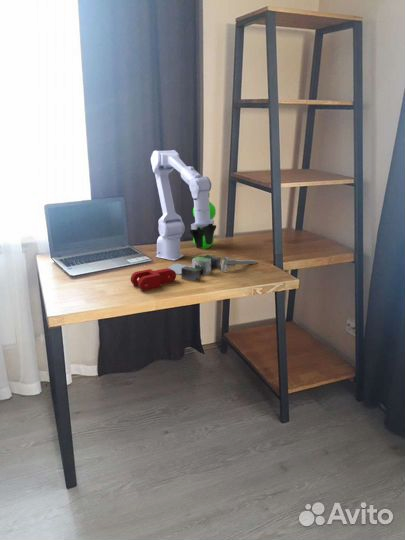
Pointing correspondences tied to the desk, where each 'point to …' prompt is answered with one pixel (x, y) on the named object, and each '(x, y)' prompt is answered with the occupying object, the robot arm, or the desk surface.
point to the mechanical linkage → (152, 278)
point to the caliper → (234, 263)
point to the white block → (202, 264)
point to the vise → (199, 269)
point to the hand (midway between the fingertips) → (204, 245)
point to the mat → (177, 268)
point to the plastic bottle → (212, 215)
